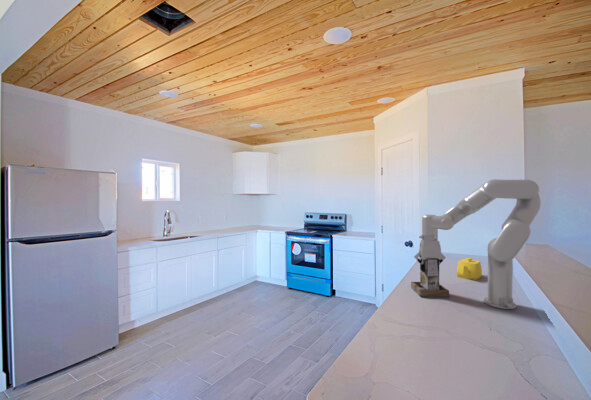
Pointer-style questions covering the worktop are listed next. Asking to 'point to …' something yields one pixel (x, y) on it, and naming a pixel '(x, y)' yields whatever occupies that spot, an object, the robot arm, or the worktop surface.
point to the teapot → (469, 269)
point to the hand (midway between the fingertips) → (429, 271)
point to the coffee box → (430, 274)
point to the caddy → (429, 291)
